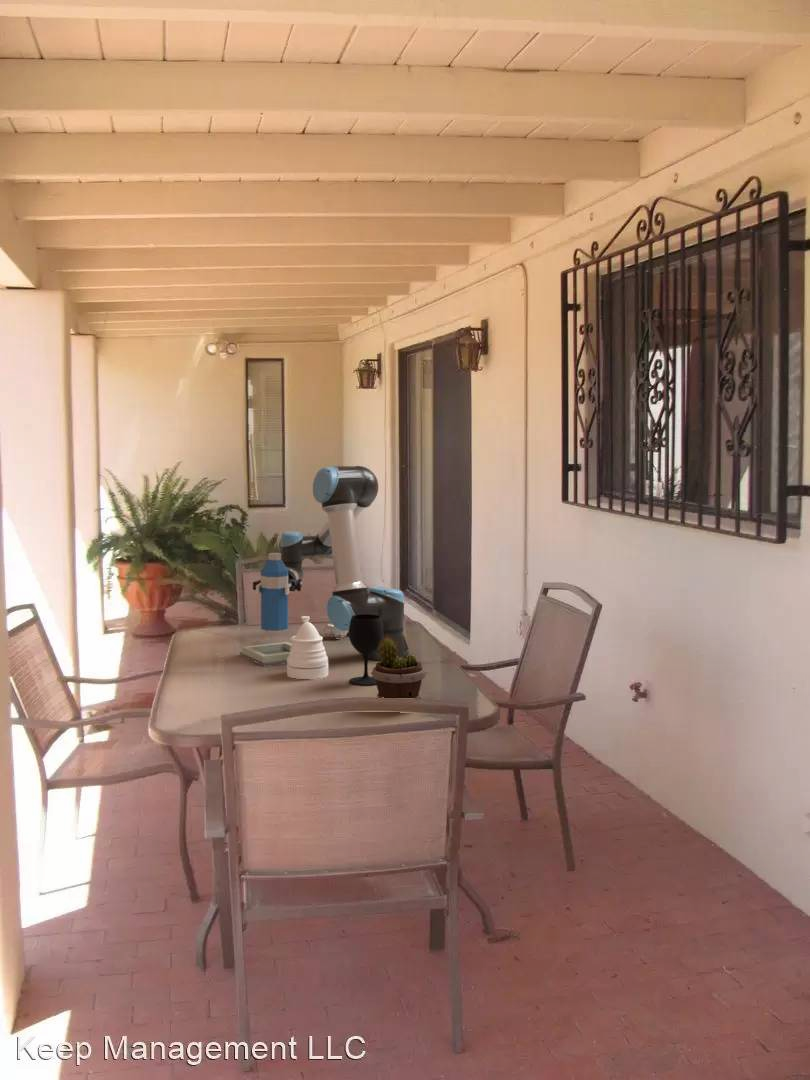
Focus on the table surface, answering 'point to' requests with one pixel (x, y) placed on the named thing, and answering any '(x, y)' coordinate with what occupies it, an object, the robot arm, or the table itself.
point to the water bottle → (274, 594)
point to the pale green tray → (268, 653)
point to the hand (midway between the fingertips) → (271, 590)
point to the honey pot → (307, 654)
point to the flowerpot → (397, 673)
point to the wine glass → (365, 642)
